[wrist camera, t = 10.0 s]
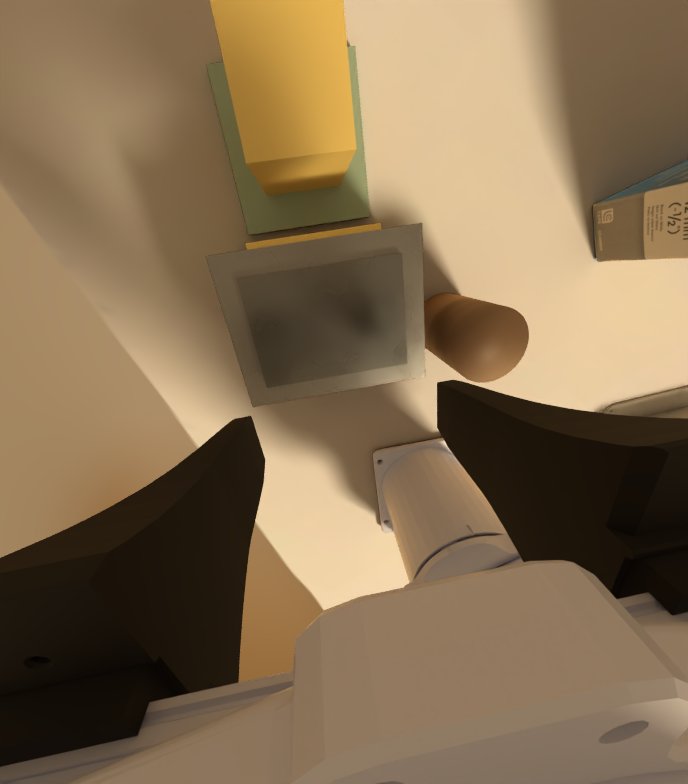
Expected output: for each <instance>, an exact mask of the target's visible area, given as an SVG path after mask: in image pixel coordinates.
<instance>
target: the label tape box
mask: <svg viewBox="0 0 688 784" xmlns="http://www.w3.org/2000/svg"><path fill="white" fill-rule="evenodd" d="M593 216H594V238H595V249H596V258H597V261H598V262H602V261H622V260H650V259H688V160H686V161H684V162H682V163H679V164H677V165H675V166H673V167H671V168H669V169H667V170H665V171H662V172H660V173H658V174H656V175H654V176H652V177H650V178H648V179H646V180H643V181H641V182H639V183H637V184H635V185H633V186H631V187H629V188H627V189H625V190H623V191H620V192H618V193H616V194H614V195H612V196H610V197H608V198H606V199H604V200H602V201H600V202H598V203H596V204H594V206H593Z"/></svg>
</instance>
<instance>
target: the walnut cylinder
mask: <svg viewBox="0 0 688 784" xmlns="http://www.w3.org/2000/svg"><path fill="white" fill-rule="evenodd" d="M424 333H425V348H426V349H428V350H429V351H430V352H432V353H433V354H434V355H436V356H437V357H438V358H440V359H441V360H442V361H444V362H445V363H446V364H448V365H449V366H450V367H452V368H453V369H454V370H456V371H457V372H458V373H460V374H461V375H462V376H464V377H465V378H466V379H468V380H471V381H474V382H490V381H494V380H496V379H499V378H501V377H503V376H504V375H506V374H507V373H509V372H510V371H511V370H512V369H513V368H514V367H515V366H516V365H517V364H518V363H519V361H520V360H521V358H522V357H523V355H524V353H525V350H526V348H527V344H528V338H529V331H528V326H527V323H526V321H525V319H524V317H523V316H522V315H521V314H520V313H519V312H518V311H516V310H514V309H512V308H510V307H506V306H502V305H497V304H493V303H489V302H485V301H481V300H477V299H473V298H468V297H464V296H460V295H456V294H452V293H441V294H437V295H435V296H433V297H431V298H430V299H428V300H427V301H426V302H425V303H424Z"/></svg>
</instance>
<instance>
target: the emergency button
mask: <svg viewBox="0 0 688 784" xmlns="http://www.w3.org/2000/svg"><path fill="white" fill-rule="evenodd" d="M603 413H605V414H615V415H626V416H641V417H658V418H688V386H686V387H682V388H678V389H674V390H670V391H666V392H662V393H658V394H654V395H650V396H646V397H641V398H637V399H633V400H629V401H625V402H621V403H617V404H613V405H611V406H609V407H608V408H607V409H606V410H605V411H604V412H603Z"/></svg>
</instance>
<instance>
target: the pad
mask: <svg viewBox="0 0 688 784" xmlns="http://www.w3.org/2000/svg"><path fill="white" fill-rule="evenodd" d="M347 48H348V59H349V70H350V81H351V93H352V104H353V115H354V126H355V137H356V148H357V149H356V152H355V154H354V156H353V158H352V160H351V162H350V165H349V167H348V169H347V171H346V173H345V176H344V178H343V180H342V182H341V184H340V186H337V187H330V188H322V189H315V190H307V191H300V192H292V193H285V194H278V195H270V196H267V195H266V194H265V192H264V191H263V189H262V187H261V186H260V184H259V183H258V181H257V180H256V178H255V176H254V175H253V173H252V172H251V170H250V169H249V167H248V166H247V164H246V161H245V156H244V152H243V147H242V143H241V138H240V134H239V129H238V125H237V120H236V116H235V111H234V107H233V102H232V98H231V93H230V89H229V84H228V80H227V75H226V71H225V66H224V62H219V63H210V64H206V66H207V70H208V74H209V78H210V82H211V86H212V90H213V94H214V98H215V102H216V106H217V110H218V114H219V118H220V122H221V126H222V130H223V134H224V138H225V142H226V146H227V150H228V154H229V158H230V162H231V167H232V171H233V175H234V179H235V183H236V187H237V191H238V195H239V199H240V203H241V207H242V211H243V215H244V219H245V223H246V227H247V231H248V235H254V234H261V233H267V232H274V231H281V230H287V229H294V228H301V227H307V226H314V225H320V224H327V223H334V222H340V221H347V220H354V219H360V218H367V217H370V211H369V199H368V188H367V176H366V165H365V154H364V142H363V131H362V119H361V108H360V97H359V85H358V74H357V62H356V51H355V46H348V47H347Z"/></svg>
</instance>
